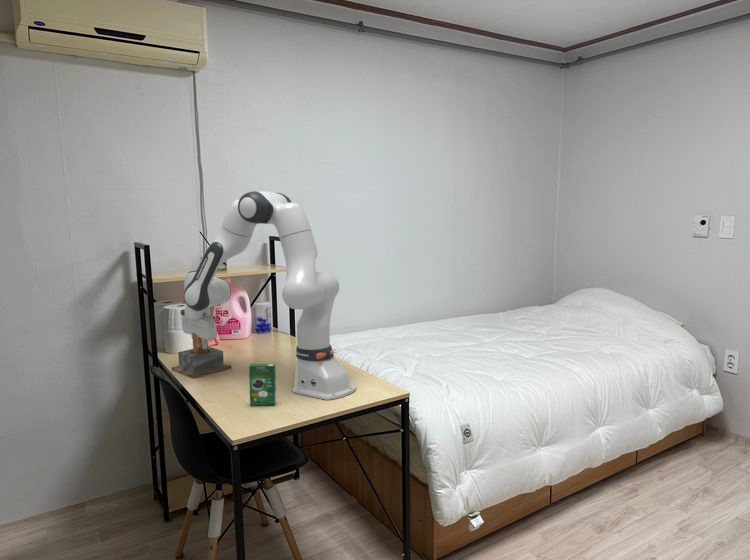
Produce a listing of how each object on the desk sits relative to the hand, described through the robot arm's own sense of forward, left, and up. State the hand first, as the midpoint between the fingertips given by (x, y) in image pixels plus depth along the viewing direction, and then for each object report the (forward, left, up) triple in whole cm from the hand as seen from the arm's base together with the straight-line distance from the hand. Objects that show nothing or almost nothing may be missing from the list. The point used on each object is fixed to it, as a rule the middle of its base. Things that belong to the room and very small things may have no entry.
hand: (200, 347), depth 199 cm
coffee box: (-49, +6, -9) cm, 50 cm away
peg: (0, 0, -4) cm, 4 cm away
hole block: (0, 0, -9) cm, 9 cm away
